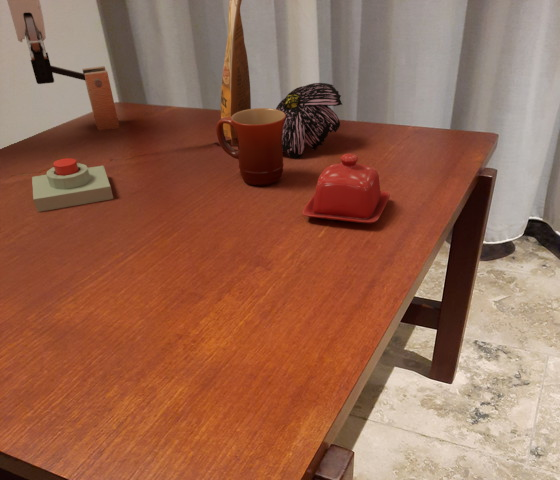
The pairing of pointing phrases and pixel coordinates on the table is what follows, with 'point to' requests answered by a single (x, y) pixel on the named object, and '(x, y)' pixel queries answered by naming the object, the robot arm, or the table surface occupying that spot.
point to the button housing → (71, 188)
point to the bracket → (101, 98)
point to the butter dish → (348, 193)
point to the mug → (256, 144)
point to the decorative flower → (308, 117)
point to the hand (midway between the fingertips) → (45, 78)
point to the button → (65, 166)
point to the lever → (68, 72)
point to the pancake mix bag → (235, 72)
